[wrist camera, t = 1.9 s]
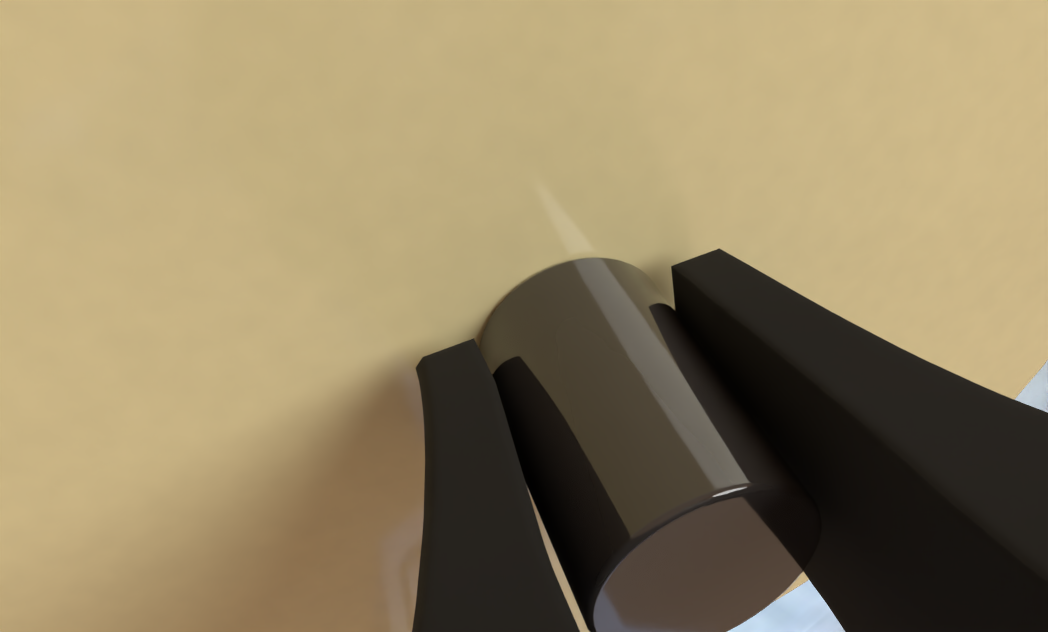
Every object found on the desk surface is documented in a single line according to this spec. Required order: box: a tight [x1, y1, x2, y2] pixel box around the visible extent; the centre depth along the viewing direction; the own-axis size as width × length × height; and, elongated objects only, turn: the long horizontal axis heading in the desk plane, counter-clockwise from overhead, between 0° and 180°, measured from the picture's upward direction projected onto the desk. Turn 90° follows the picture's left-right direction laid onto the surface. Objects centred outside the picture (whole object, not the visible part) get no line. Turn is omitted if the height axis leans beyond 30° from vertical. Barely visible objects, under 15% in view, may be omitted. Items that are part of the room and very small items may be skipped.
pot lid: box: [0, 0, 1048, 632], centre depth 10 cm, size 18×18×5 cm
